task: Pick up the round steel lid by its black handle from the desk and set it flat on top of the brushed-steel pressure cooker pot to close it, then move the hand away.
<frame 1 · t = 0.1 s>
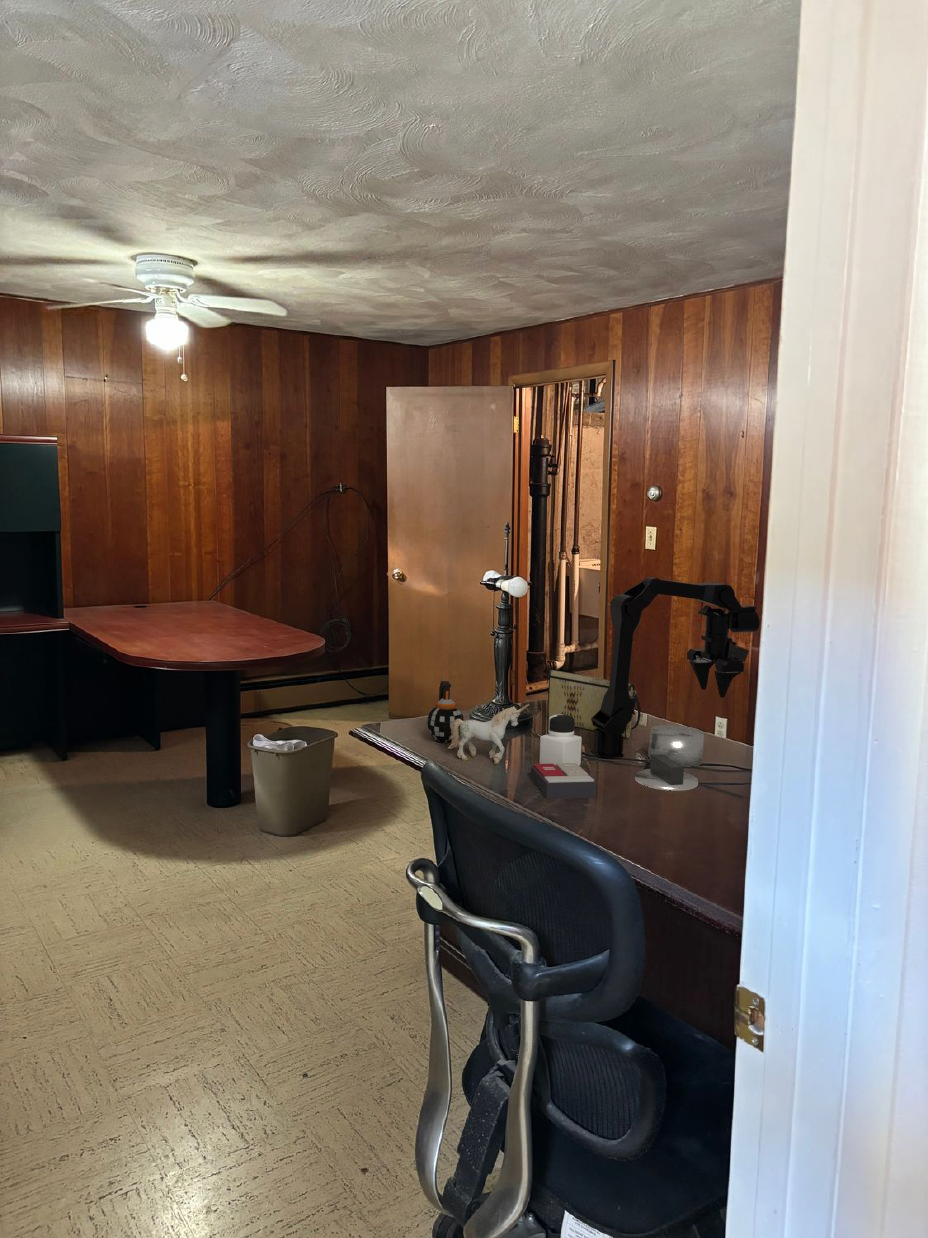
hand: (712, 693, 227), 15 cm above the table, tool pointing down, fingers open, 9 cm apart
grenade: (444, 741, 231), on the table
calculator: (562, 789, 196), on the table
unicorn figurine: (488, 758, 216), on the table
lid: (666, 782, 202), on the table
medicine bottle: (559, 766, 211), on the table
pot: (675, 759, 219), on the table
clutch purse: (590, 729, 247), on the table
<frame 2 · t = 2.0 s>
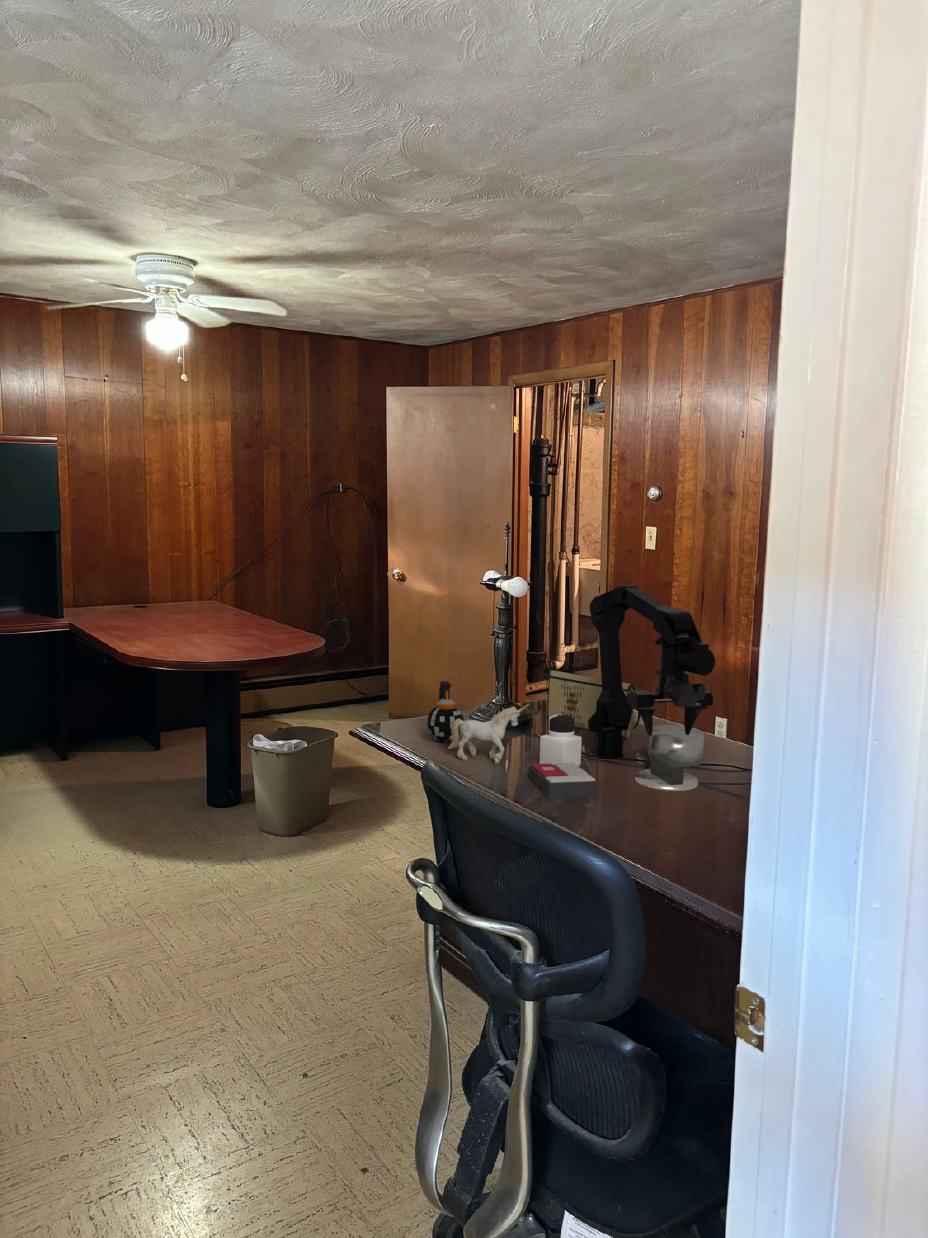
hand: (668, 735, 200), 10 cm above the table, tool pointing down, fingers open, 9 cm apart
nothing on the table moved.
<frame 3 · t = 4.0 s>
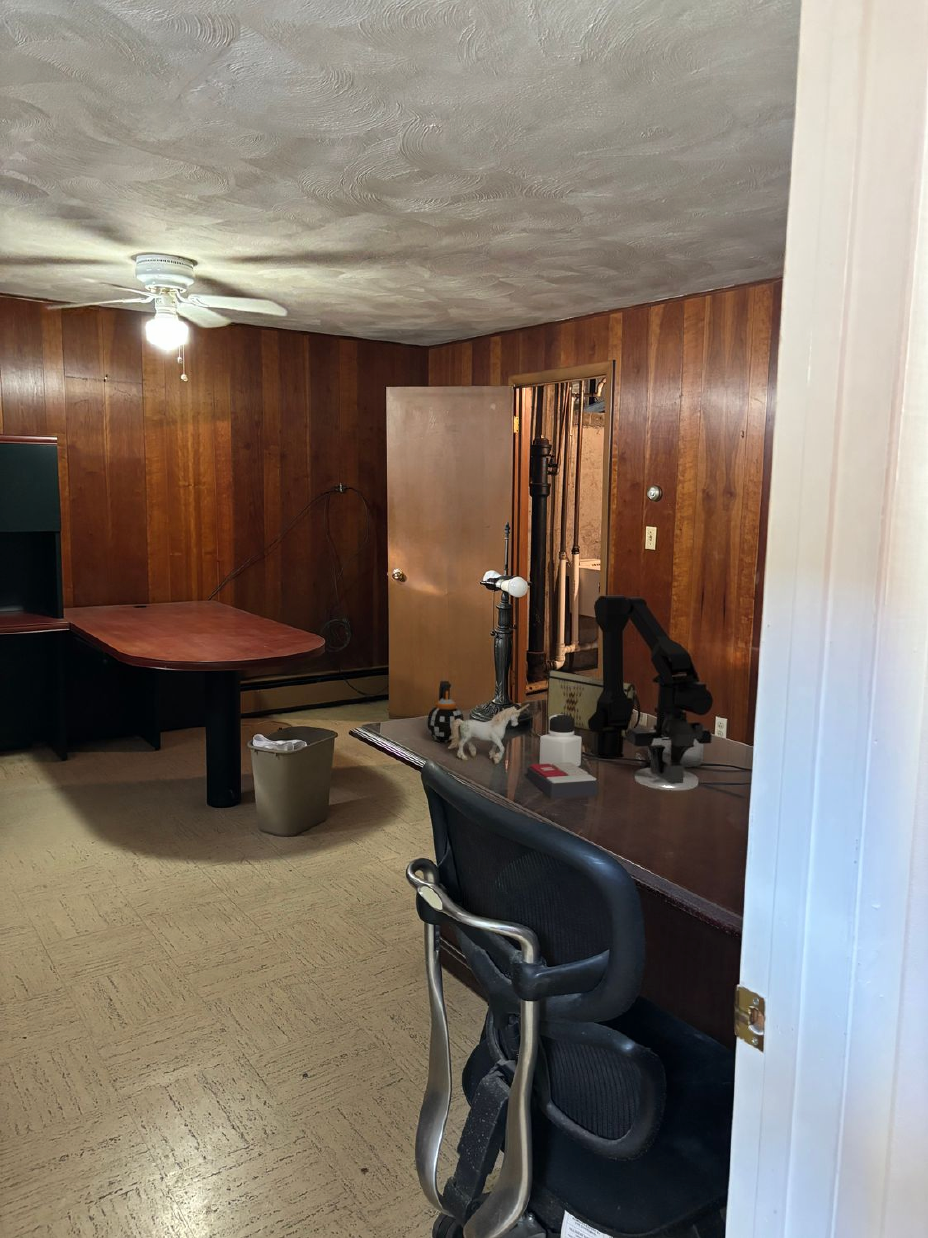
hand: (666, 772, 201), 2 cm above the table, tool pointing down, fingers closed on lid, 3 cm apart
lid: (666, 780, 202), on the table, touching gripper
everything else where it was.
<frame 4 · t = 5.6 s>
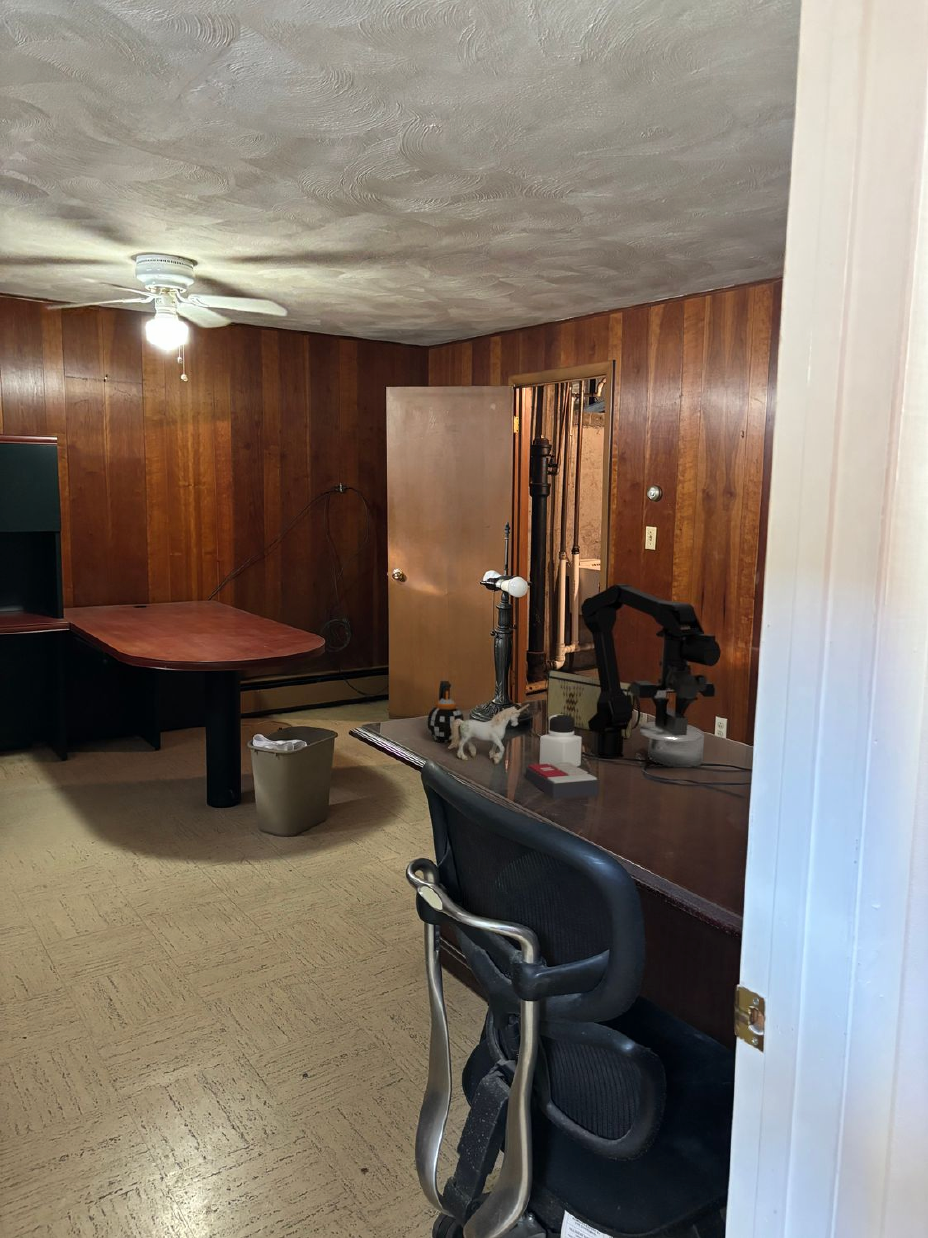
hand: (670, 725, 204), 12 cm above the table, tool pointing down, fingers closed on lid, 3 cm apart
lid: (670, 733, 204), point 10 cm above the table, touching gripper
everything else where it was.
when the fingers open (10 cm above the table, at t = 7.3 s): lid drops 1 cm, resting on pot.
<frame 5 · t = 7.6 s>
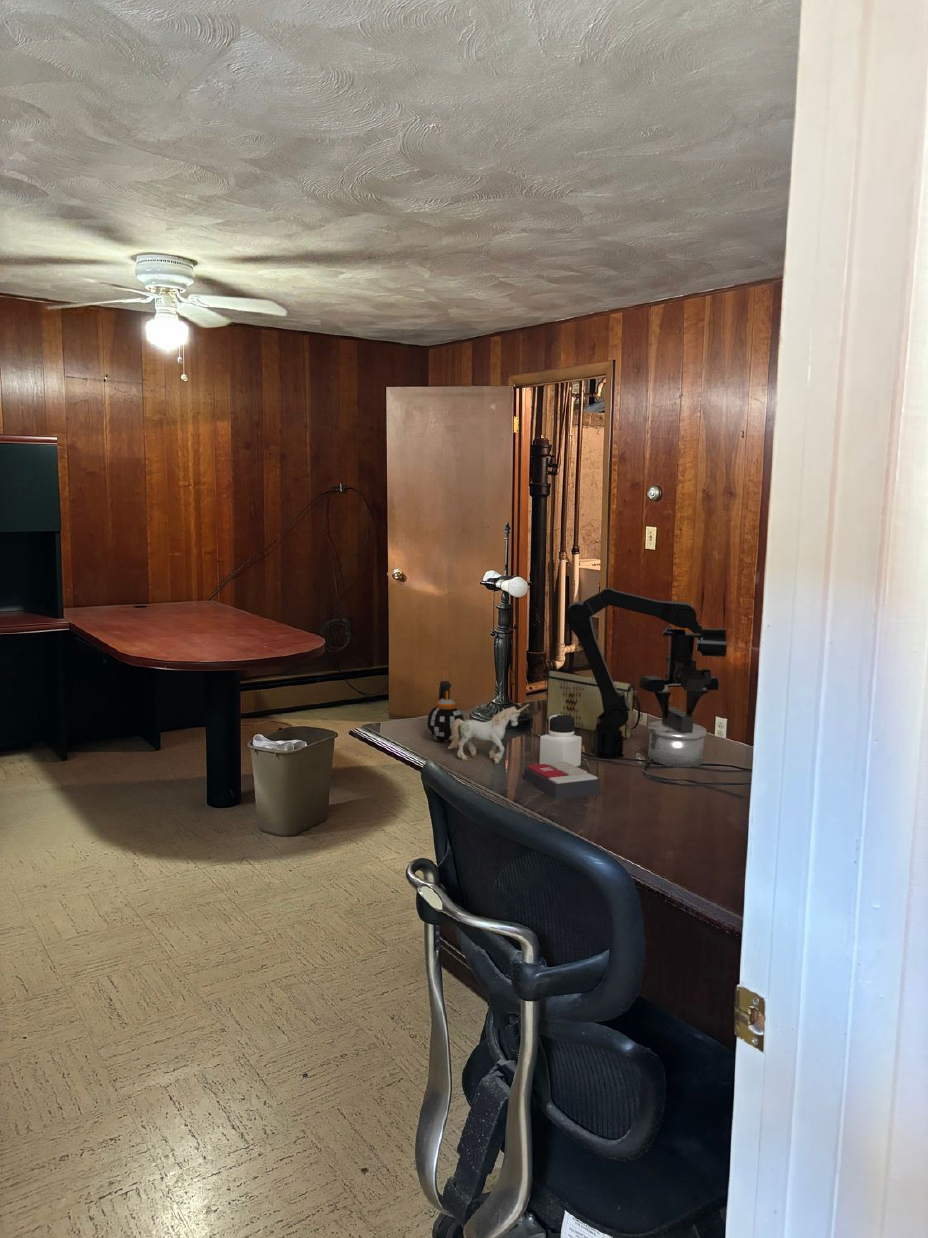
hand: (677, 717, 217), 10 cm above the table, tool pointing down, fingers open, 6 cm apart
lid: (676, 731, 218), point 7 cm above the table, touching pot
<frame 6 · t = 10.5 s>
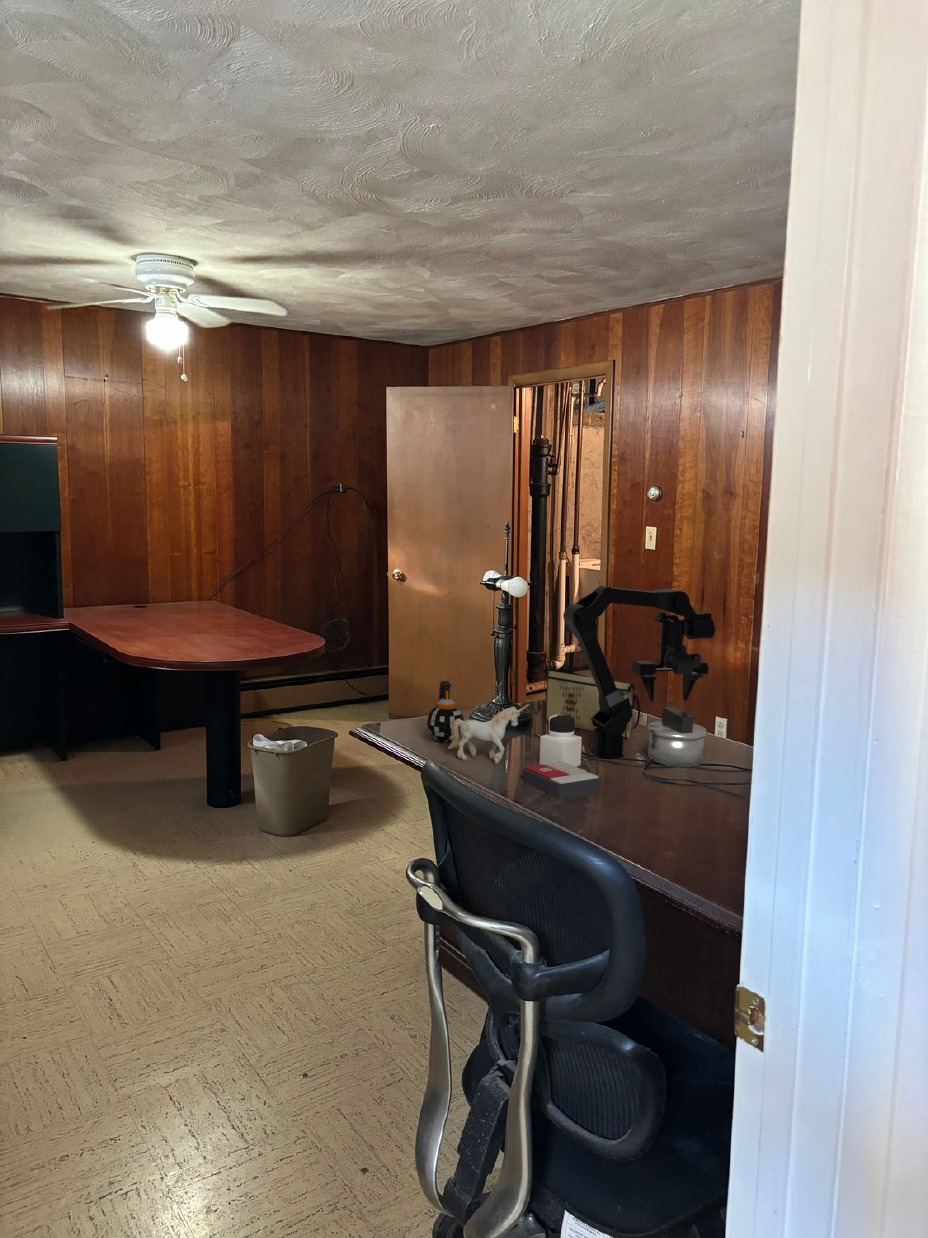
hand: (668, 701, 224), 13 cm above the table, tool pointing down, fingers open, 9 cm apart
at the end: lid 0.1 cm off-centre on the pot, point 7.0 cm above the pot's base; lid tilted 0°; the gripper is holding nothing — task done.
